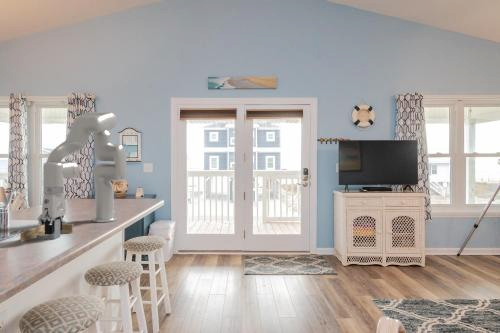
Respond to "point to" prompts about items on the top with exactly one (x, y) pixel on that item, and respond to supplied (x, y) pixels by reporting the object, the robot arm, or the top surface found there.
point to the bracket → (53, 231)
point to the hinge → (48, 219)
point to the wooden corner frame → (41, 229)
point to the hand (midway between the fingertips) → (53, 231)
